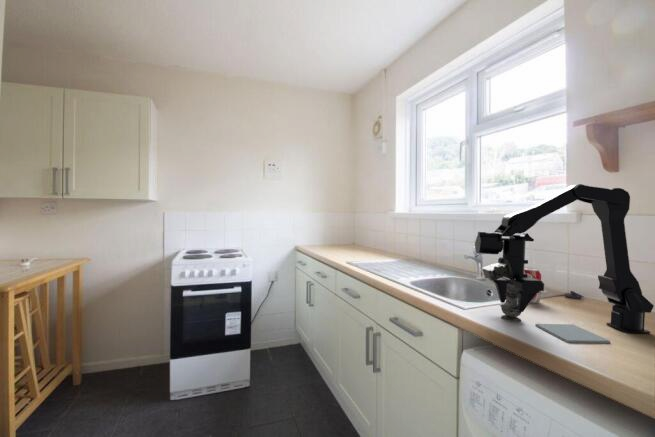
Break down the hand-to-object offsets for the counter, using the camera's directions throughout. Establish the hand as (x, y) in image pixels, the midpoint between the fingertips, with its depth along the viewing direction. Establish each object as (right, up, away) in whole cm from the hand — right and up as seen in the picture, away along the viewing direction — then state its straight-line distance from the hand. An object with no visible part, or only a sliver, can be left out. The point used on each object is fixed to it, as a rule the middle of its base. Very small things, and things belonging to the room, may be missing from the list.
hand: (511, 306), depth 91 cm
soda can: (+18, -4, +20) cm, 27 cm away
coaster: (+9, -4, -11) cm, 15 cm away
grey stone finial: (0, -4, 0) cm, 4 cm away
